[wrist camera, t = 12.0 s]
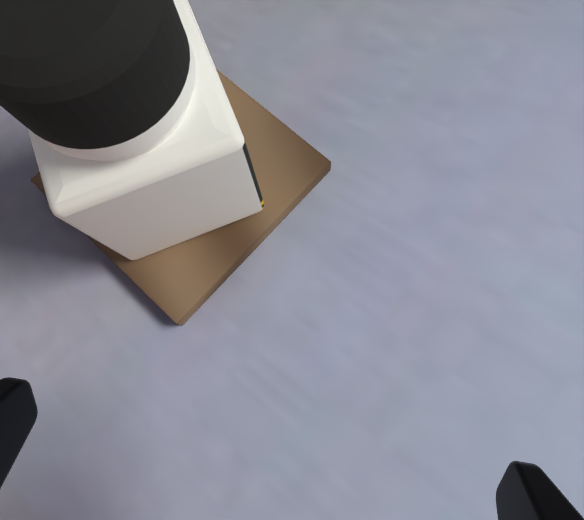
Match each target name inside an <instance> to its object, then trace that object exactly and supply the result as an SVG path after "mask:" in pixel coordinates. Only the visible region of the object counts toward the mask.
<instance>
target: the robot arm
mask: <svg viewBox="0 0 584 520" xmlns="http://www.w3.org/2000/svg"><path fill="white" fill-rule="evenodd" d="M36 418H37V405H36V402H35V399H34V395H33V392H32V389H31V386H30V383H29V382H28V381H26V380H23V379H17V378H9V377H8V378H3V379H1V380H0V488H1V486H2V485H3V483H4V481H5V479H6V477H7V475H8V473H9V471H10V469H11V467H12V465H13V463H14V462H15V460H16V458H17V456H18V454H19V452H20V450H21V448H22V446H23V444H24V442H25V440H26V439H27V437H28V435H29V433H30V431H31V429H32V427H33V425H34V423H35V421H36ZM496 506H497V514H498V520H584V518H583V517H582V516H581V515H580V514H579V512H578V511H577V510H576V509H575V508H574V507H573V505H572V504H571V503H570V502H569V501H568V500H567V498H566V497H565V496H564V495H563V494H562V493H561V491H560V490H559V489H558V488H557V487H556V486H555V484H554V483H553V482H552V481H551V480H550V479H549V477H548V476H547V475H546V474H545V473H544V472H543V470H542V469H541V468H539V467H538V466H537V465H535V464H531V463H525V462H519V461H513V462H511V463H510V464H509V466H508V468H507V470H506V472H505V474H504V476H503V478H502V480H501V482H500V484H499V486H498V488H497V492H496Z"/></svg>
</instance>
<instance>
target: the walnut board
mask: <svg viewBox="0 0 584 520" xmlns="http://www.w3.org/2000/svg"><path fill="white" fill-rule="evenodd" d="M216 71H217V73H218V75H219V78H220V80H221V83H222V85H223V88H224V90H225V92H226V95H227V97H228V100H229V102H230V105H231V107H232V110H233V112H234V114H235V117H236V119H237V122H238V124H239V127H240V129H241V132H242V134H243V136H244V139H245V143H246V146H247V149H248V152H249V156H250V159H251V162H252V165H253V169H254V172H255V175H256V178H257V182H258V185H259V188H260V191H261V195H262V198H263V201H264V207H263V209H262V210H261V211H260V212H258V213H255V214H253V215H250V216H248V217H245V218H243V219H240V220H238V221H235V222H232V223H230V224H227V225H225V226H222V227H220V228H217V229H214V230H212V231H209V232H207V233H204V234H202V235H199V236H197V237H194V238H191V239H189V240H186V241H184V242H181V243H179V244H176V245H174V246H171V247H168V248H166V249H163V250H161V251H158V252H156V253H153V254H150V255H148V256H145V257H143V258H140V259H138V260H130V259H128V258H126V257H124V256H123V255H121V254H119V253H118V252H116V251H114V250H112V249H111V248H109V247H107V246H106V245H104V244H102V243H100V242H99V241H97V240H95V239H94V238H92V237H90V236H88V235H87V234H86V235H87V236H88V237H89V238H90V239H91V240H92V241H93V242H94V243H95V244H96V245H97V246H98V247H99V248H100V249H101V250H102V251H103V252H104V253H105V254H106V255H107V256H108V257H109V258H110V259H111V260H112V261H113V262H114V263H115V264H116V265H117V266H118V267H119V268H120V269H121V270H122V271H123V272H125V273H126V274H127V275H128V276H129V277H130V278H131V279H132V280H133V281H134V282H135V283H136V284H137V285H138V286H139V287H140V288H141V289H142V290H143V291H144V292H145V293H146V294H147V295H148V296H149V297H150V298H151V299H152V300H153V301H154V302H155V303H156V304H157V305H158V306H159V307H160V308H161V309H162V310H163V311H164V312H165V313H166V314H167V315H168V316H169V317H170V318H171V319H172V320H173V321H174V322H175V323H176V324H179V325H183V324H184V323H185V322H186V321H187V320H188V319H189V318H190V317H191V316H192V315H193V314H194V313H195V312H196V311H197V310H198V309H199V308H200V307H201V305H202V304H203V303H204V302H205V301H206V300H207V299H208V298H209V297H210V296H211V295H212V294H213V293H214V292H215V291H216V290H217V289H218V288H219V287H220V286H221V284H222V283H223V282H224V281H225V280H226V279H227V278H228V277H229V276H230V275H231V274H232V273H233V272H234V271H235V270H236V269H237V268H238V267H239V266H240V265H241V263H242V262H243V261H244V260H245V259H246V258H247V257H248V256H249V255H250V254H251V253H252V252H253V251H254V250H255V249H256V248H257V247H258V246H259V245H260V244H261V242H262V241H263V240H264V239H265V238H266V237H267V236H268V235H269V234H270V233H271V232H272V231H273V230H274V229H275V228H276V227H277V226H278V225H279V224H280V222H281V221H282V220H283V219H284V218H285V217H286V216H287V215H288V214H289V213H290V212H291V211H292V210H293V209H294V208H295V207H296V206H297V205H298V204H299V203H300V201H301V200H302V199H303V198H304V197H305V196H306V195H307V194H308V193H309V192H310V191H311V190H312V189H313V188H314V187H315V186H316V185H317V184H318V183H319V182H320V180H321V179H322V178H323V177H324V176H325V175H326V174H327V173H328V172H329V171H330V168H331V161H329V160H328V159H327V158H326V157H324V156H323V155H322V154H321V153H319V152H318V151H317V150H316V149H315V148H313V147H312V146H311V145H310V144H308V143H307V142H306V141H305V140H303V139H302V138H301V137H300V136H298V135H297V134H296V133H295V132H293V131H292V130H291V129H290V128H289V127H287V126H286V125H285V124H284V123H282V122H281V121H280V120H279V119H277V118H276V117H275V116H274V115H272V114H271V113H270V112H269V111H268V110H266V109H265V108H264V107H263V106H261V105H260V104H259V103H258V102H256V101H255V100H254V99H253V98H251V97H250V96H249V95H248V94H246V93H245V92H244V91H243V90H242V89H240V88H239V87H238V86H237V85H235V84H234V83H233V82H232V81H230V80H229V79H228V78H227V77H225V76H224V75H223V74H222V73H221V72H219V71H218V70H217V69H216ZM31 181H32V182H33V183H34V184H35V185H36V186H37V187H38V188H39V189H40V190H41V191H42V192H43V193H44V194H45V195H46V193H45V189H44V186H43V182H42V178H41V175H40V172H39V173H38V174H37V175H36V176H35V177H33V178H32V179H31Z"/></svg>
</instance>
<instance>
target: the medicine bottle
mask: <svg viewBox="0 0 584 520" xmlns="http://www.w3.org/2000/svg"><path fill="white" fill-rule="evenodd" d="M0 105H1V106H2V107H3V108H4V109H5V110H7V111H8V112H9V113H10V114H11V115H13V116H14V117H15V118H16V119H17V120H19V121H20V122H21V123H22V124H23V125H25V126H26V127H27V128H28V132H29V135H30V139H31V142H32V146H33V150H34V153H35V157H36V160H37V164H38V168H39V171H40V175H41V178H42V182H43V186H44V189H45V193H46V196H47V200H48V204H49V207H50V210H51V211H52V213H53V214H54V216H56V217H58V218H59V219H61V220H63V221H64V222H66V223H68V224H70V225H71V226H73V227H75V228H76V229H78V230H80V231H82V232H83V233H85V234H87V235H88V236H90V237H92V238H94V239H95V240H97V241H99V242H100V243H102V244H104V245H106V246H107V247H109V248H111V249H112V250H114V251H116V252H118V253H119V254H121V255H123V256H124V257H126V258H128V259H130V260H138V259H140V258H143V257H145V256H148V255H150V254H153V253H156V252H158V251H161V250H163V249H166V248H168V247H171V246H174V245H176V244H179V243H181V242H184V241H186V240H189V239H191V238H194V237H197V236H199V235H202V234H204V233H207V232H209V231H212V230H214V229H217V228H220V227H222V226H225V225H227V224H230V223H232V222H235V221H238V220H240V219H243V218H245V217H248V216H250V215H253V214H255V213H258V212H260V211H261V210H262V209H263V207H264V201H263V198H262V195H261V191H260V188H259V185H258V182H257V178H256V175H255V172H254V169H253V165H252V162H251V159H250V156H249V152H248V149H247V146H246V143H245V139H244V136H243V134H242V132H241V129H240V127H239V124H238V122H237V119H236V117H235V114H234V112H233V110H232V107H231V105H230V102H229V100H228V97H227V95H226V92H225V90H224V88H223V85H222V83H221V80H220V78H219V75H218V73H217V71H216V68H215V66H214V63H213V61H212V58H211V56H210V53H209V51H208V49H207V46H206V44H205V41H204V39H203V36H202V34H201V31H200V29H199V27H198V24H197V22H196V19H195V17H194V14H193V12H192V9H191V7H190V5H189V2H188V0H0Z"/></svg>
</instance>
